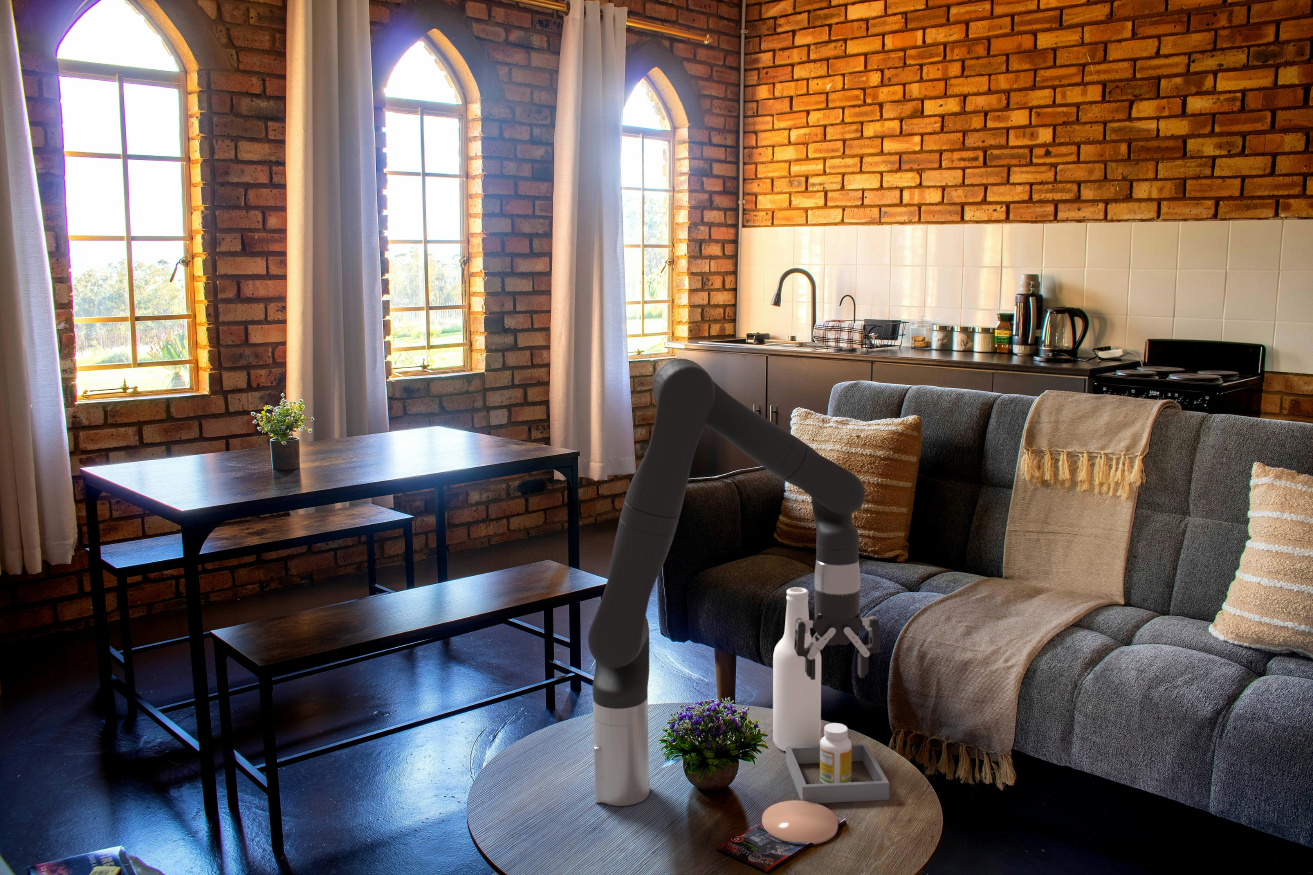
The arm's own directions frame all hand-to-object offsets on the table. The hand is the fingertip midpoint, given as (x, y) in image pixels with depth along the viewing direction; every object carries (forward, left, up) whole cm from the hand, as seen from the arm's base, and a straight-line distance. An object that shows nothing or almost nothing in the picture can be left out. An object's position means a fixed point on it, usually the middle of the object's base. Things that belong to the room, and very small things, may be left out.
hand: (836, 677), depth 172 cm
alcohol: (-4, +14, -19) cm, 24 cm away
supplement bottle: (0, 0, -19) cm, 19 cm away
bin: (0, 0, -19) cm, 19 cm away
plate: (-9, -13, -19) cm, 25 cm away
